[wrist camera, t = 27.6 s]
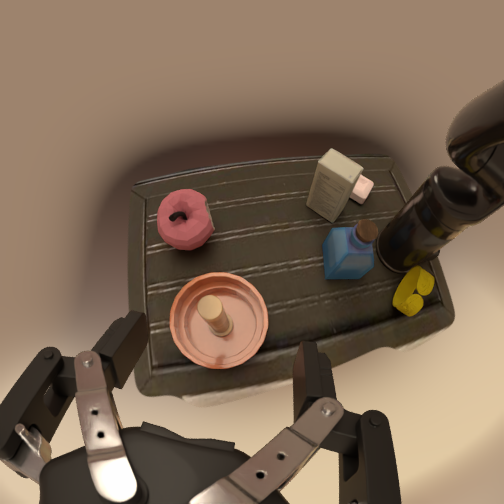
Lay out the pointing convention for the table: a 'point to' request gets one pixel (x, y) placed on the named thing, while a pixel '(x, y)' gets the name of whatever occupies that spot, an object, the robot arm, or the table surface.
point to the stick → (215, 315)
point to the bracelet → (407, 286)
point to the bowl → (235, 305)
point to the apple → (185, 219)
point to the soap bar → (361, 189)
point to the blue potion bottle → (349, 251)
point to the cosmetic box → (333, 184)
